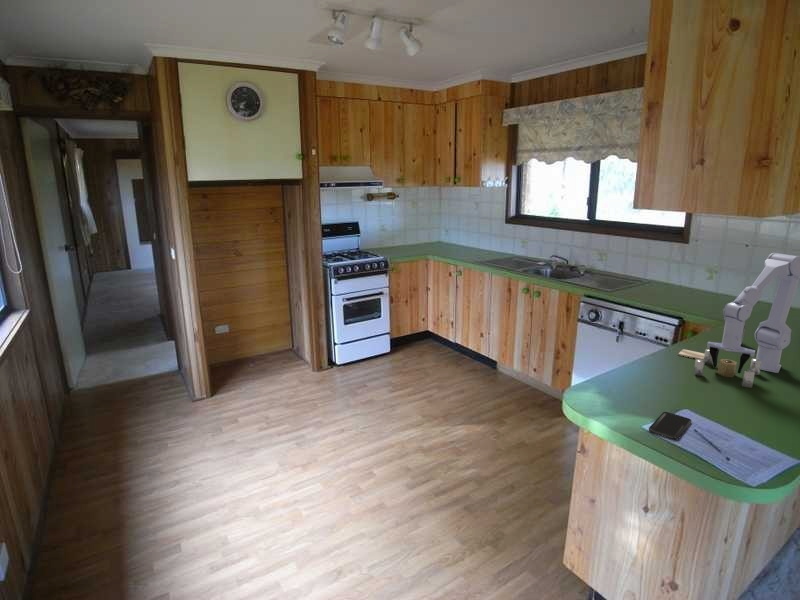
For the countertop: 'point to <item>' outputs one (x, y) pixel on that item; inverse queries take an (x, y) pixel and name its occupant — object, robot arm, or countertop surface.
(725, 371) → the brass nut
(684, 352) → the oak pad
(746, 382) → the steel spacers
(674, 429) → the phone
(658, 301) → the countertop surface
